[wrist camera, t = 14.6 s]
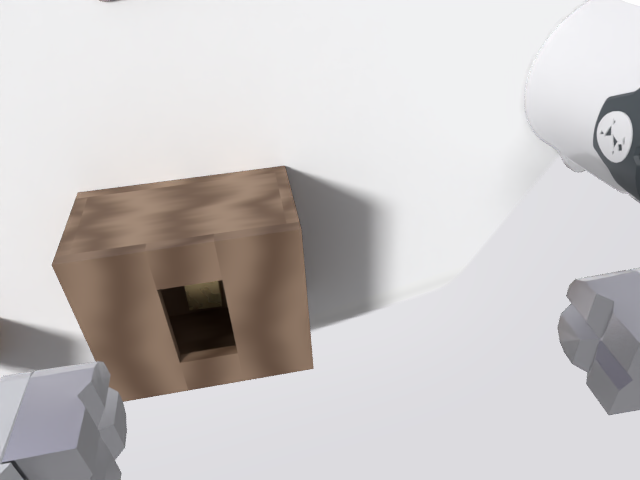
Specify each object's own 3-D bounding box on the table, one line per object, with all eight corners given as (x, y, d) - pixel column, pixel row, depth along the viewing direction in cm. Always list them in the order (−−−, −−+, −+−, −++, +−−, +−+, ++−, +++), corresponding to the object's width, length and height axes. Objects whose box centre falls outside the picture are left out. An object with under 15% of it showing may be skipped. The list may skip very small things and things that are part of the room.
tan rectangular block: (213, 229, 49) (214, 255, 46) (221, 278, 53) (222, 306, 50) (180, 232, 49) (178, 259, 46) (190, 282, 52) (189, 310, 49)
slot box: (285, 165, 48) (301, 229, 40) (298, 296, 57) (313, 368, 49) (77, 192, 46) (51, 265, 38) (127, 323, 55) (114, 403, 47)
